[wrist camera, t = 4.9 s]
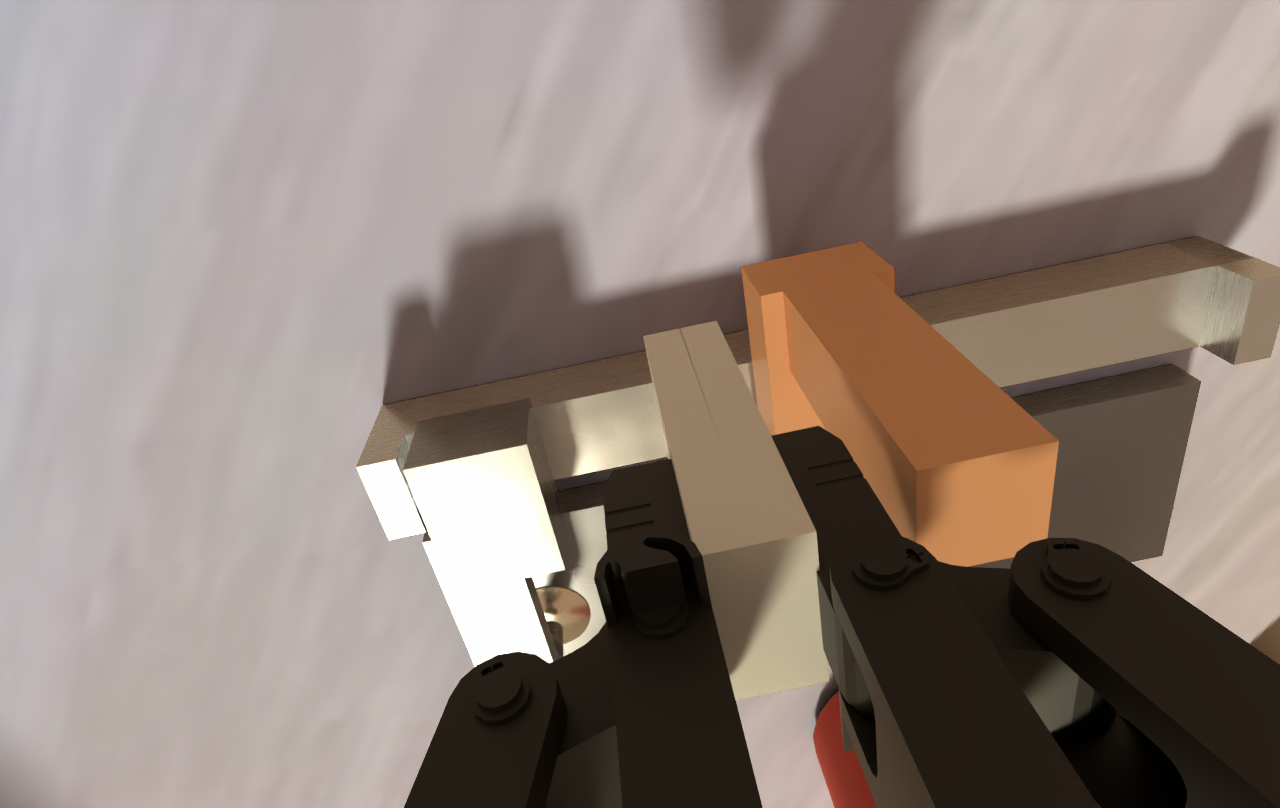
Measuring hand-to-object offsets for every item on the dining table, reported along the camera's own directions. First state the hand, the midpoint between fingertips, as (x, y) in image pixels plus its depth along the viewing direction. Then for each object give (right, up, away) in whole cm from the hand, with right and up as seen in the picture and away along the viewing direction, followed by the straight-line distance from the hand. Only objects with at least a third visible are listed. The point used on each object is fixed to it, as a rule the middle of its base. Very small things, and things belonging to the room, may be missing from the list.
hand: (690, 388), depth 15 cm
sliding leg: (+4, -1, +6) cm, 7 cm away
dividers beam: (+4, -1, +8) cm, 9 cm away
